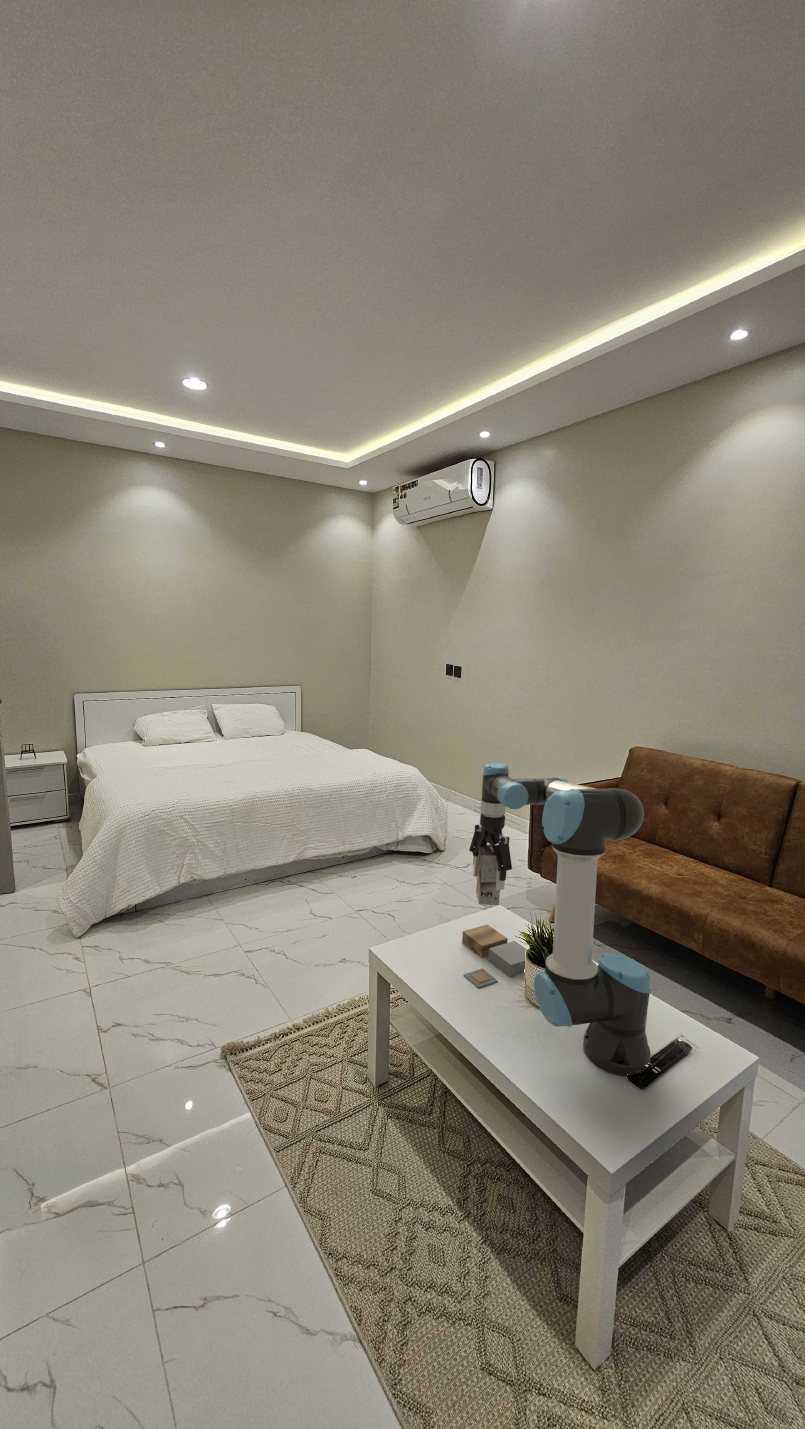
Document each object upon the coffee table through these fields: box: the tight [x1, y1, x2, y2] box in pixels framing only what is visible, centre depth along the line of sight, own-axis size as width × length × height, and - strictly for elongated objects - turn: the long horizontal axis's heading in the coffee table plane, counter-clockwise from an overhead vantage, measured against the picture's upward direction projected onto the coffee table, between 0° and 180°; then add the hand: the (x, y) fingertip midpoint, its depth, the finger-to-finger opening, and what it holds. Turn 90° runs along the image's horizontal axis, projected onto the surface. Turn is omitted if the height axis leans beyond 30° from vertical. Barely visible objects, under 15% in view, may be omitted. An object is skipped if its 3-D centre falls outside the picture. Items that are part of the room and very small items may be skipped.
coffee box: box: [475, 843, 501, 906], centre depth 187 cm, size 9×6×16 cm
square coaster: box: [463, 968, 499, 989], centre depth 173 cm, size 7×7×1 cm
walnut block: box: [461, 924, 509, 959], centre depth 190 cm, size 10×10×4 cm
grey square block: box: [487, 940, 527, 979], centre depth 180 cm, size 10×10×4 cm
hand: (488, 882), depth 187 cm, fingers closed on coffee box, 10 cm apart
